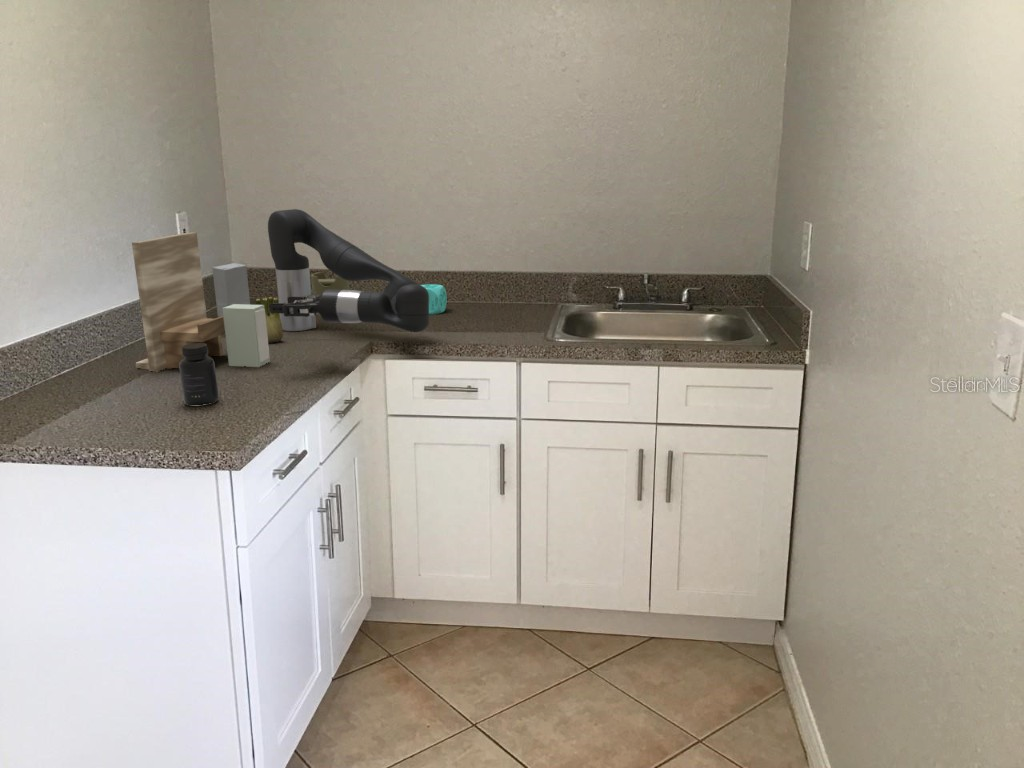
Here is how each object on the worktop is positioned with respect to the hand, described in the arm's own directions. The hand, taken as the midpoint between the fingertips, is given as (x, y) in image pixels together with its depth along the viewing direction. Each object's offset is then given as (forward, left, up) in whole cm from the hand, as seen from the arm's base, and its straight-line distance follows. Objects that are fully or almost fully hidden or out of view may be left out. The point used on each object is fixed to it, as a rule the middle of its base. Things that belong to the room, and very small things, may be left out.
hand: (279, 304), depth 196 cm
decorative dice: (-55, -45, -15) cm, 73 cm away
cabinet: (+7, -7, -15) cm, 18 cm away
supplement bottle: (+21, +21, -15) cm, 33 cm away
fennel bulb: (-3, -28, -15) cm, 32 cm away
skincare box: (0, -70, -15) cm, 72 cm away
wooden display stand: (+19, -17, -15) cm, 30 cm away
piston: (-28, -60, -15) cm, 68 cm away
